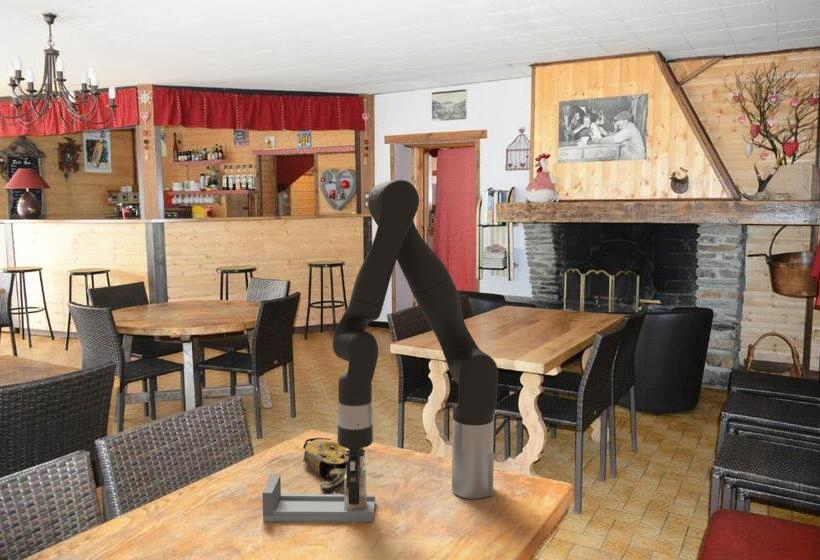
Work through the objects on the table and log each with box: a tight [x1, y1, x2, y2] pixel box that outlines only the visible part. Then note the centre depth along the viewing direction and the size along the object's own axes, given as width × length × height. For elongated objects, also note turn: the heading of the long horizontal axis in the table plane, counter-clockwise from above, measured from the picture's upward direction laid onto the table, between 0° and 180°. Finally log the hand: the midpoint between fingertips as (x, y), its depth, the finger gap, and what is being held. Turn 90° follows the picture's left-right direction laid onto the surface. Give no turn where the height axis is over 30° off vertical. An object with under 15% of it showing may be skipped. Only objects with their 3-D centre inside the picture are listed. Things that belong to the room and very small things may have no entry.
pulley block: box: [302, 437, 348, 494], centre depth 168 cm, size 14×6×30 cm
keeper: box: [343, 469, 367, 510], centre depth 146 cm, size 4×4×7 cm
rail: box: [262, 474, 376, 523], centre depth 146 cm, size 23×9×6 cm, turn 90°
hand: (355, 495), depth 146 cm, fingers open, 7 cm apart
